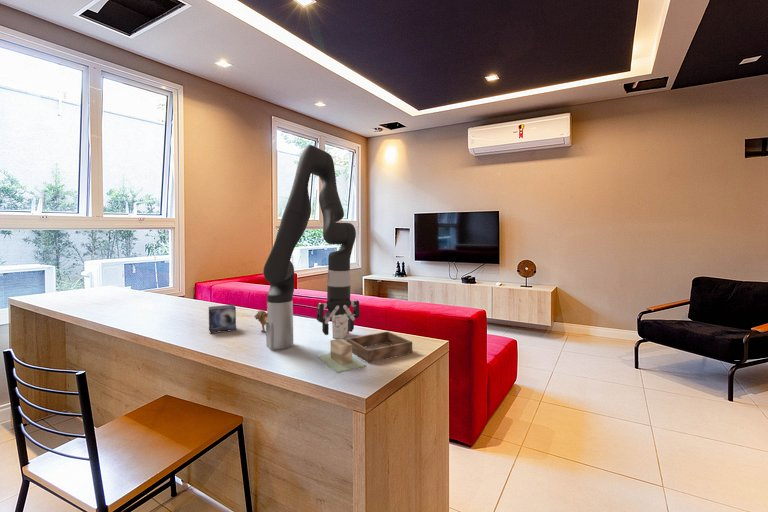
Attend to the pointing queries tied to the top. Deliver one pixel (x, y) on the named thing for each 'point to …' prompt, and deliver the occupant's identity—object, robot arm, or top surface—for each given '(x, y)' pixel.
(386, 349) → the slot box
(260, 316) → the lion figurine
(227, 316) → the small box
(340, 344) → the maple block
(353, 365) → the mat
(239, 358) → the top surface
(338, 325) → the ink cartridge box
